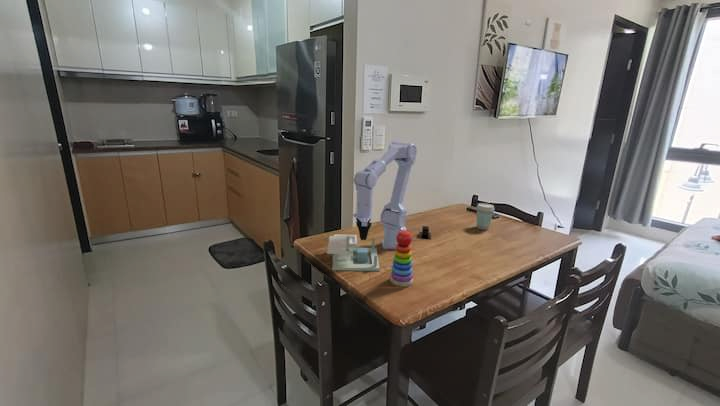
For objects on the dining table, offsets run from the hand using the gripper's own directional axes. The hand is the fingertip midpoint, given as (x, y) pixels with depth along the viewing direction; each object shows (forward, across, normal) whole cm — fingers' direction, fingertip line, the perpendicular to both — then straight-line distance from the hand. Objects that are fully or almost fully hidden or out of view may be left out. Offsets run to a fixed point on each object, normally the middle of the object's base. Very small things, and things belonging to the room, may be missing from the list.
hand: (363, 237), depth 128 cm
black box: (+10, -28, +30) cm, 42 cm away
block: (+9, 0, 0) cm, 9 cm away
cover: (+3, 0, -9) cm, 10 cm away
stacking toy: (+10, +16, +13) cm, 23 cm away
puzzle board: (+9, 0, -3) cm, 10 cm away
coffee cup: (+10, -40, +62) cm, 74 cm away
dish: (+9, -17, -7) cm, 21 cm away
